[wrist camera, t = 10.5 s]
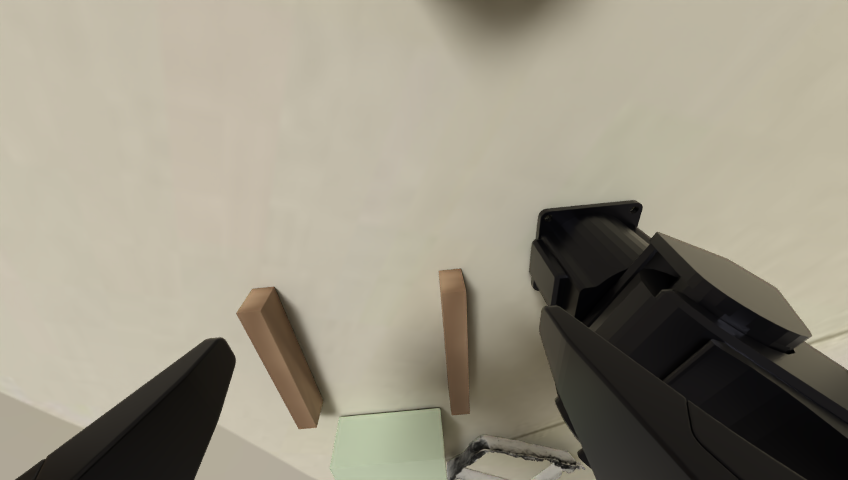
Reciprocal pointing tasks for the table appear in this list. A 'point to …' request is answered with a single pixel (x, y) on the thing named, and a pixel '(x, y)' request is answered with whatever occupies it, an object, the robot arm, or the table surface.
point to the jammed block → (390, 447)
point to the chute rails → (292, 371)
